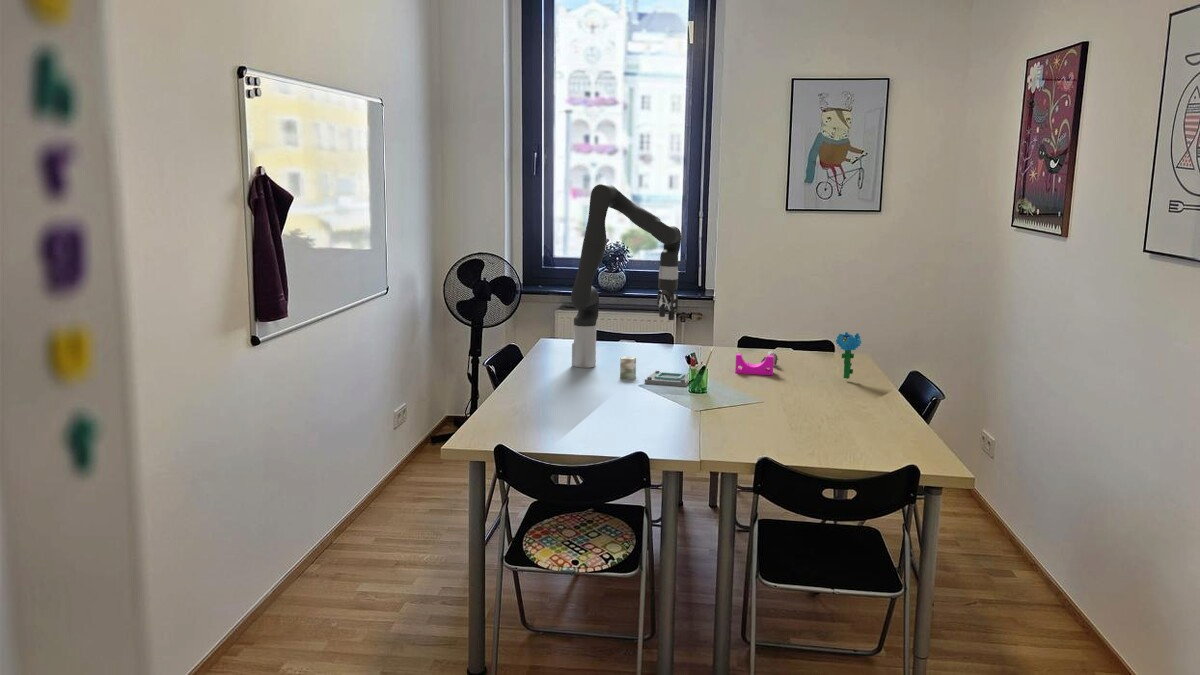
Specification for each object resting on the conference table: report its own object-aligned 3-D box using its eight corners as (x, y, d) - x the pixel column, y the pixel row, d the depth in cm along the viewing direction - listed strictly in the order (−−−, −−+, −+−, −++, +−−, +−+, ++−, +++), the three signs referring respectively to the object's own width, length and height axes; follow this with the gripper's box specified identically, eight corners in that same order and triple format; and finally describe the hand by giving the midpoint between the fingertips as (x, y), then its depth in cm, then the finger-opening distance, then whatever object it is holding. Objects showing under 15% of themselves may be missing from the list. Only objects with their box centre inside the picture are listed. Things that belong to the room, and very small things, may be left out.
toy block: (773, 372, 371) (773, 354, 370) (772, 375, 365) (773, 357, 364) (736, 370, 375) (737, 352, 373) (735, 373, 369) (736, 355, 367)
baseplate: (644, 383, 345) (644, 377, 344) (654, 375, 360) (654, 370, 360) (685, 386, 340) (685, 380, 340) (694, 378, 355) (694, 372, 355)
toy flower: (831, 378, 359) (833, 333, 357) (840, 374, 367) (842, 331, 364) (853, 381, 354) (855, 336, 351) (861, 377, 361) (864, 333, 358)
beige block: (620, 378, 354) (620, 358, 353) (623, 376, 359) (623, 356, 357) (632, 379, 352) (632, 359, 351) (635, 377, 357) (636, 357, 356)
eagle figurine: (772, 371, 386) (767, 373, 378) (761, 359, 388) (755, 360, 380) (785, 359, 384) (780, 361, 376) (774, 347, 386) (768, 348, 378)
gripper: (652, 275, 358) (650, 316, 361) (667, 279, 345) (665, 321, 348) (669, 275, 361) (667, 315, 363) (684, 279, 348) (683, 321, 350)
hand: (666, 318), depth 355 cm, fingers open, 8 cm apart
